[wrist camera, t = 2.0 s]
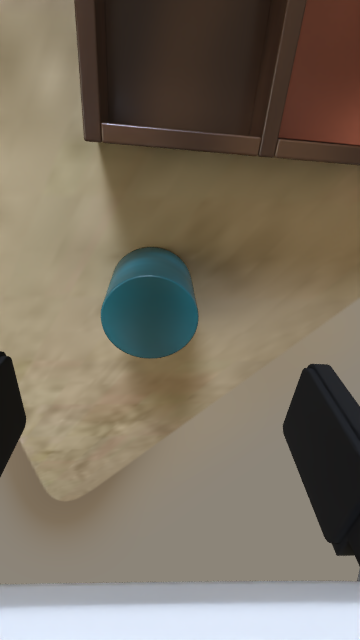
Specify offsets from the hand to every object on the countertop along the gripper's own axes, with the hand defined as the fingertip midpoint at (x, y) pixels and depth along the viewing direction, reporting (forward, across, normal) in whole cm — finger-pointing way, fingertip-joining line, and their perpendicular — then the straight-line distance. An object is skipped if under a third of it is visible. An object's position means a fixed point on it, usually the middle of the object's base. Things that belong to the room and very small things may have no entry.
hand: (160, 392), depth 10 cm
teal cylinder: (+7, +1, 0) cm, 8 cm away
